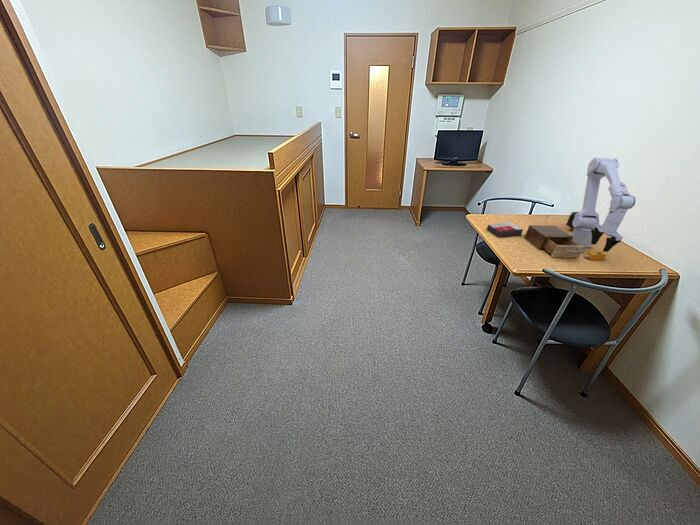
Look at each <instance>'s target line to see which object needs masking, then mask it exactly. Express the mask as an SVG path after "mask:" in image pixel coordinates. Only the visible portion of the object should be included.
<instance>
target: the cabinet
mask: <svg viewBox="0 0 700 525" xmlns="http://www.w3.org/2000/svg"><path fill="white" fill-rule="evenodd" d="M546 238H569V239H571V240H572V239H573V236H571V234H569V233H568V232H566V231H565V230H563V229H562V228H560V227H558V226H556V225H547V224H546V225H545V224H544V225H542V224H539V225H538V224H537V225H534V224H529V225H528V227H527V230H526V233H525V235H524V239H525V240H527V241H528V242H529V243H530V244H532V245H533V246H534V247H535V248H537V249H538V250H540V251H546V250H545V249H544V248H543V245H544V243H545V240H546Z"/></svg>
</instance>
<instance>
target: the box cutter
mask: <svg viewBox="0 0 700 525" xmlns="http://www.w3.org/2000/svg"><path fill="white" fill-rule="evenodd" d="M584 257H585V258H586V259H588V261H605V259H606V257H607V254H606V252H604V251H593V252H592V251H588V252H587V254H585V256H584Z"/></svg>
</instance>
